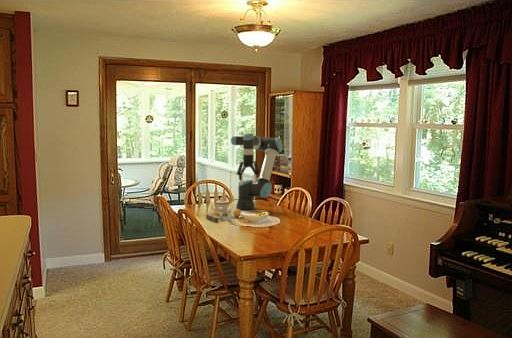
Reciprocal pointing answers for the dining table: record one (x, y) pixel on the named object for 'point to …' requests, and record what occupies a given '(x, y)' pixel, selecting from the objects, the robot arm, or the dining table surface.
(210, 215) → the back wall
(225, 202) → the teacup with lid
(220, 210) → the pin
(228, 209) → the pin
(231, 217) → the lane mark
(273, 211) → the dining table surface
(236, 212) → the ball
